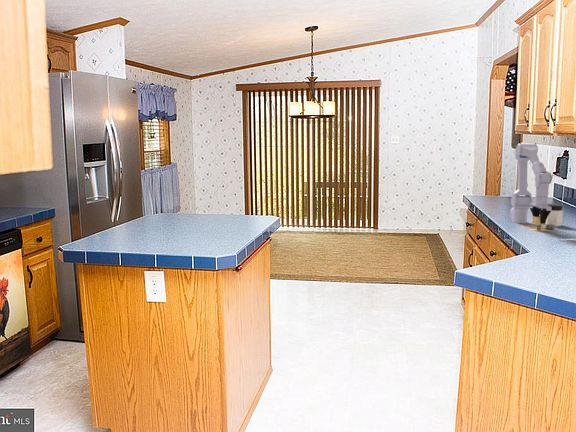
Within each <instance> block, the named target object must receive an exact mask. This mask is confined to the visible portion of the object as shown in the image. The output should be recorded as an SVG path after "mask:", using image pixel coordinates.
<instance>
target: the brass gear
mask: <svg viewBox="0 0 576 432" xmlns="http://www.w3.org/2000/svg"><path fill="white" fill-rule="evenodd" d="M531 224H532V225H541V226H546V222H545V224H541V223H540V215H539V216H533V215H532V223H531Z"/></svg>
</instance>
